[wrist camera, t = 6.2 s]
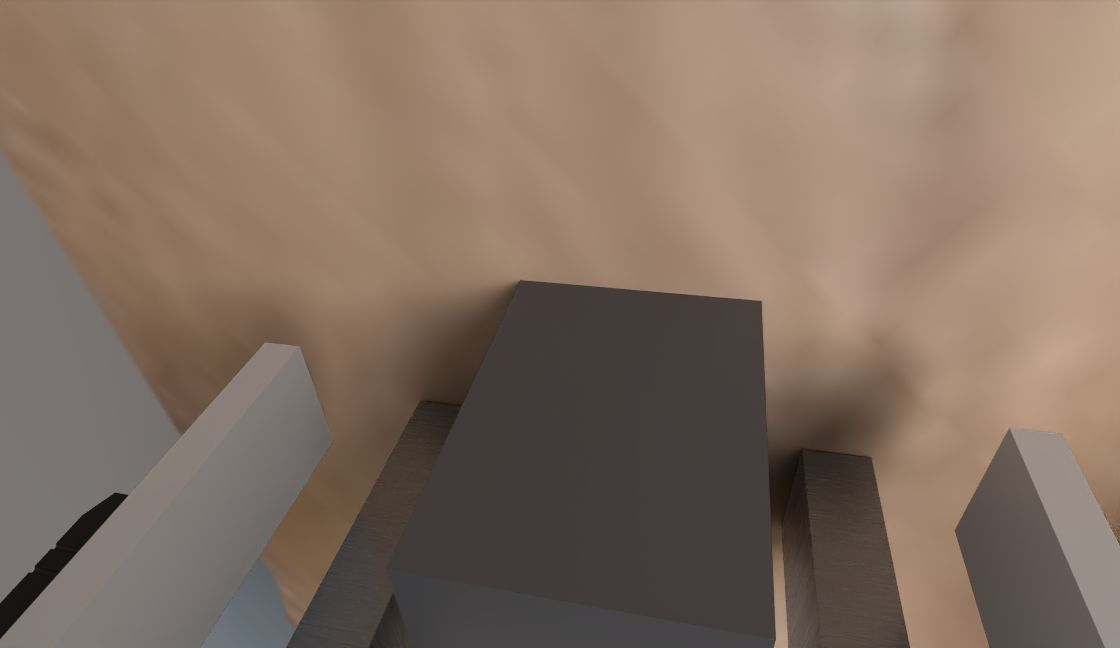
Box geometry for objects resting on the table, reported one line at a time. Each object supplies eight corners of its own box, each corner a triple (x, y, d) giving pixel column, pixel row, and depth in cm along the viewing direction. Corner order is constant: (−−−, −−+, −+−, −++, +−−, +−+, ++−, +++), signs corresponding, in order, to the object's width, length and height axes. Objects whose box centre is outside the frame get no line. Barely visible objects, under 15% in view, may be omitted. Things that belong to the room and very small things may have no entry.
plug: (498, 278, 14) (314, 634, 8) (787, 303, 13) (829, 740, 7) (537, 609, 22) (459, 912, 16) (717, 643, 21) (707, 983, 15)
